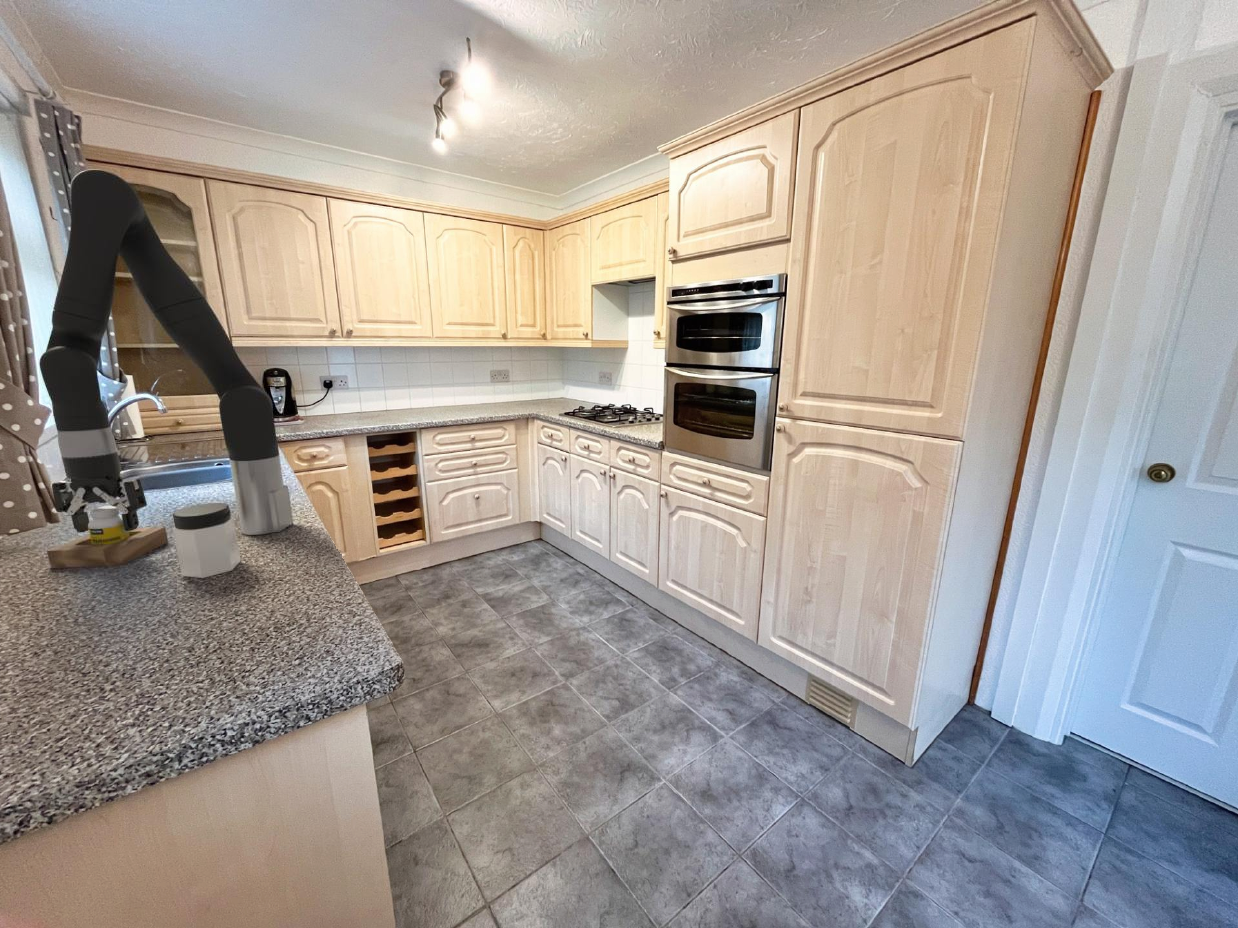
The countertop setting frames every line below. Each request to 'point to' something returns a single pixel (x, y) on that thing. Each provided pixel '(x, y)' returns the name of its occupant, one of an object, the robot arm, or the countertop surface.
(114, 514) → the supplement bottle
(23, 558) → the countertop surface
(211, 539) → the jar
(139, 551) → the socket block
